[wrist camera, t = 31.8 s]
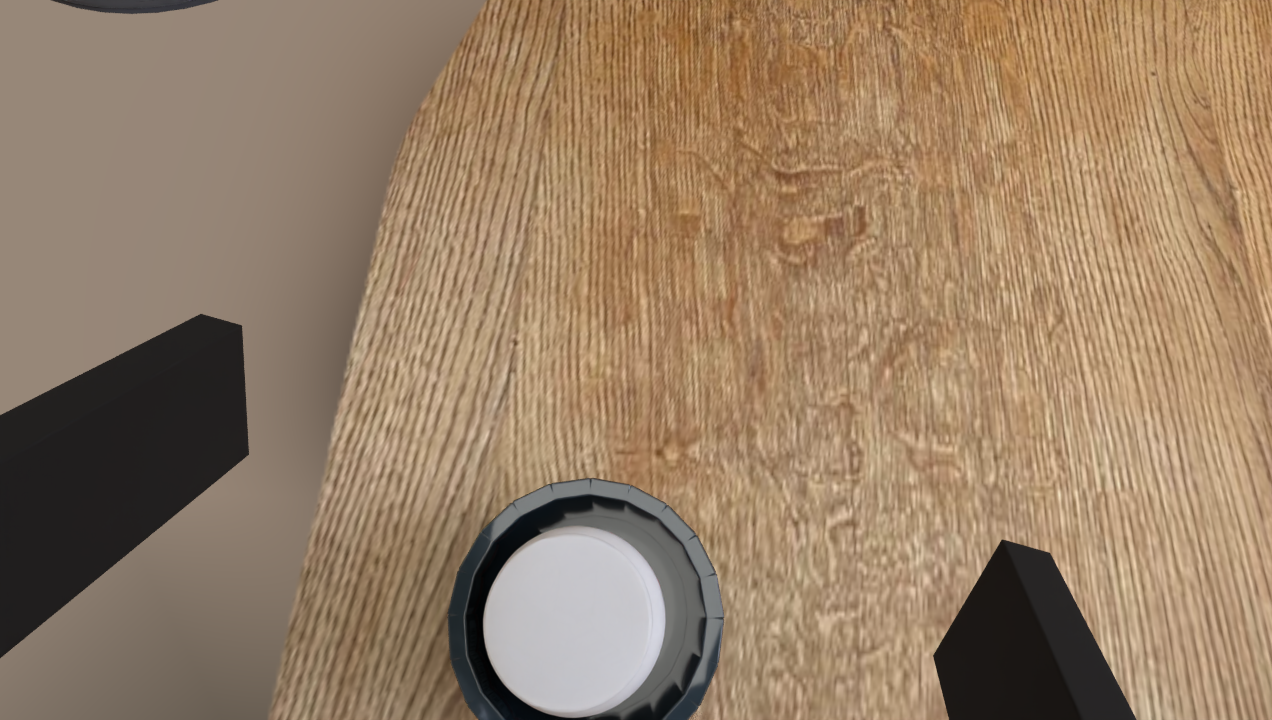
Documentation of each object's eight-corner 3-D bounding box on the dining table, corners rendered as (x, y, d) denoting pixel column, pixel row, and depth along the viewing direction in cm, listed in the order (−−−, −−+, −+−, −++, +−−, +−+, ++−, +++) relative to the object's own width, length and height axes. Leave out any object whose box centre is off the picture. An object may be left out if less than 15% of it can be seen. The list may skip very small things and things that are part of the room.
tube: (479, 519, 30) (440, 498, 24) (680, 490, 31) (697, 462, 24) (496, 746, 28) (457, 795, 21) (716, 709, 28) (746, 745, 21)
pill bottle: (672, 563, 29) (697, 547, 20) (635, 707, 28) (643, 767, 18) (541, 524, 30) (504, 491, 20) (496, 664, 28) (433, 700, 18)
